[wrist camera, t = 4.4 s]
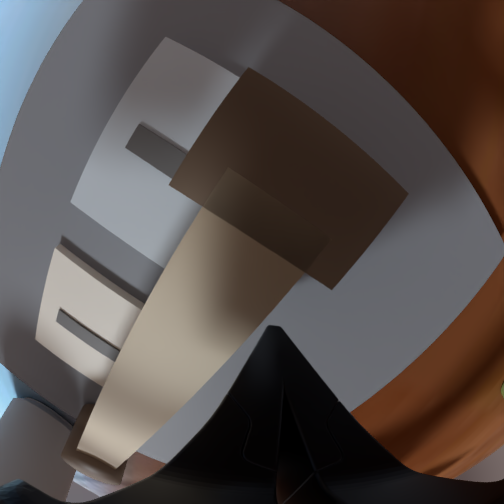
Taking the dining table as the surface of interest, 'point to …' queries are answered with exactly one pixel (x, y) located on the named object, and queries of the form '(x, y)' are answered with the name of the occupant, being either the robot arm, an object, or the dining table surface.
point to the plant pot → (502, 390)
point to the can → (35, 447)
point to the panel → (185, 210)
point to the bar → (235, 258)
